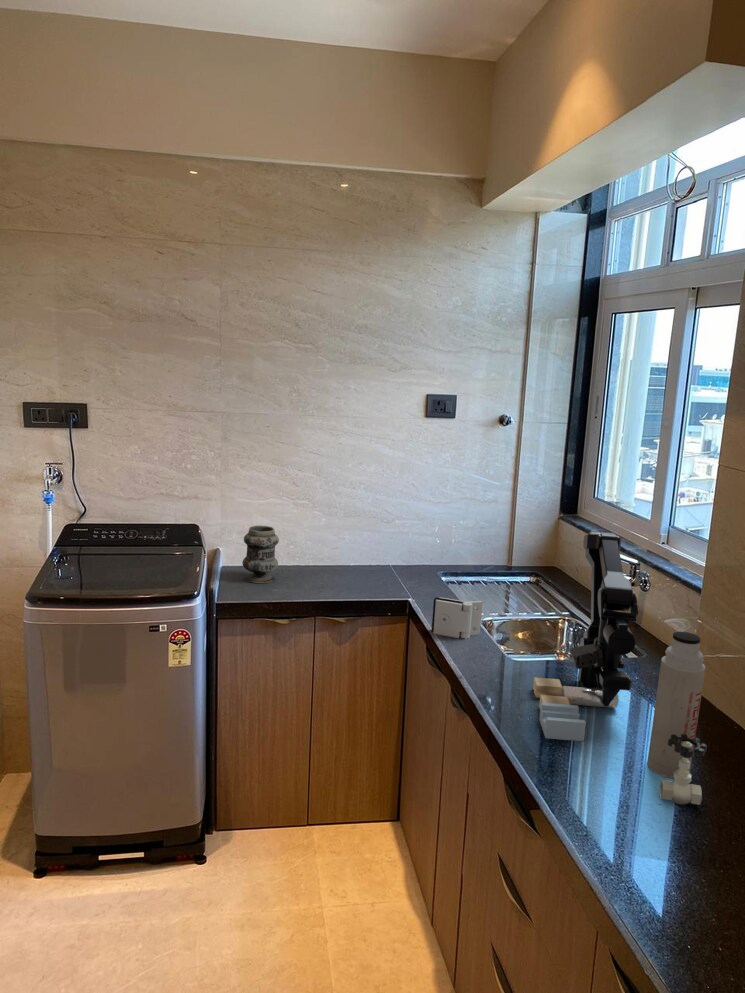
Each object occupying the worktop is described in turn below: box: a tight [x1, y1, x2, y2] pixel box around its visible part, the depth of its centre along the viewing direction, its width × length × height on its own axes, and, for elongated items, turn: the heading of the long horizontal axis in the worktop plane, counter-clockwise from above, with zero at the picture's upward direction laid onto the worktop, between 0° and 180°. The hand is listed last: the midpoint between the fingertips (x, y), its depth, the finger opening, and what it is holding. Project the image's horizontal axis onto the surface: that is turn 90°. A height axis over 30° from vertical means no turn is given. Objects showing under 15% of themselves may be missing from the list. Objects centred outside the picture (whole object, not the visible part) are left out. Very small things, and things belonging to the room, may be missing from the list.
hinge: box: [431, 596, 484, 640], centre depth 213 cm, size 14×5×10 cm, turn 83°
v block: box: [539, 703, 587, 742], centre depth 161 cm, size 8×8×4 cm
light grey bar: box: [562, 685, 619, 709], centre depth 173 cm, size 12×4×4 cm, turn 86°
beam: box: [532, 676, 571, 711], centre depth 174 cm, size 6×14×3 cm, turn 177°
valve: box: [658, 734, 708, 806], centre depth 136 cm, size 7×7×12 cm
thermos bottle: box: [646, 631, 706, 779], centre depth 146 cm, size 8×8×28 cm
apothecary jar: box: [241, 525, 280, 584], centre depth 253 cm, size 12×12×18 cm
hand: (603, 701), depth 173 cm, fingers closed on light grey bar, 4 cm apart
